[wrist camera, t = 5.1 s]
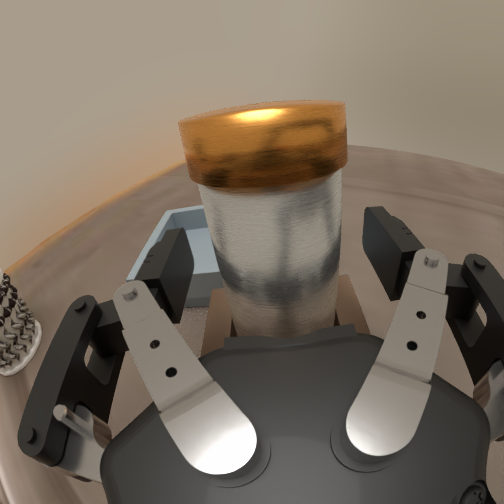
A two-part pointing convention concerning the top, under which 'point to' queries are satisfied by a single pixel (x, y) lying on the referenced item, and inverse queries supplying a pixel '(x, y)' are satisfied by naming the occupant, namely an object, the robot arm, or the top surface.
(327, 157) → the glass jar
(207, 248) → the tray
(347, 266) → the top surface
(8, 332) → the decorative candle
